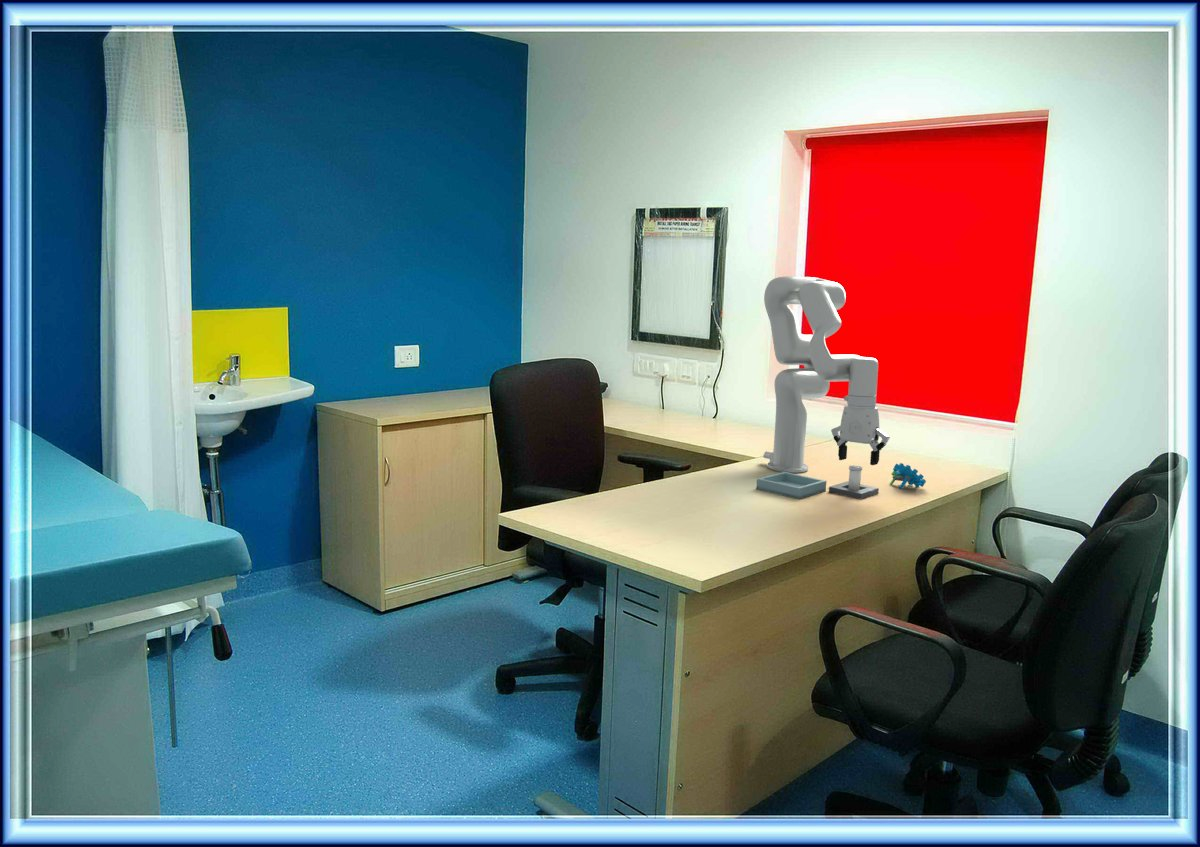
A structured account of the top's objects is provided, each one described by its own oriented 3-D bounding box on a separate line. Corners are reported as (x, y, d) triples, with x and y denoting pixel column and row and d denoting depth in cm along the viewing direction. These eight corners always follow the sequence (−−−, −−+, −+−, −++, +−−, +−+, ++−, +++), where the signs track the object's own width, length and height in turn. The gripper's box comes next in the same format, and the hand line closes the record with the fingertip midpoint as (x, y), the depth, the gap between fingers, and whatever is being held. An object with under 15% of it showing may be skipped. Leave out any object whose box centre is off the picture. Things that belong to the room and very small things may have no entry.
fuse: (844, 492, 254) (846, 466, 253) (851, 490, 257) (853, 464, 256) (856, 494, 252) (858, 468, 251) (862, 492, 254) (864, 467, 253)
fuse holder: (828, 491, 254) (829, 486, 254) (846, 486, 261) (847, 481, 261) (860, 498, 247) (861, 493, 247) (878, 493, 254) (878, 488, 254)
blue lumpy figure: (933, 485, 259) (914, 462, 256) (922, 500, 258) (903, 478, 254) (905, 481, 269) (886, 459, 266) (894, 496, 268) (876, 475, 264)
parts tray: (756, 489, 255) (757, 478, 254) (783, 481, 265) (784, 471, 264) (798, 499, 245) (799, 488, 245) (825, 491, 255) (826, 480, 254)
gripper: (827, 399, 253) (823, 459, 255) (884, 406, 241) (880, 468, 243) (840, 397, 258) (837, 456, 261) (897, 403, 246) (893, 465, 249)
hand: (858, 462), depth 252 cm, fingers open, 9 cm apart
